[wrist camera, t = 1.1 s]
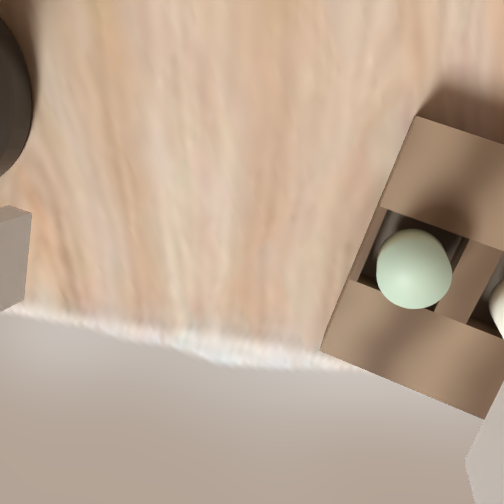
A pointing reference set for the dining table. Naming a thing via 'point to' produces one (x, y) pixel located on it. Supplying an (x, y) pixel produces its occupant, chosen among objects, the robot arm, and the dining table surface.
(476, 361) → the wooden egg tray
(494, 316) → the white egg
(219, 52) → the dining table surface
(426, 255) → the pale green egg
